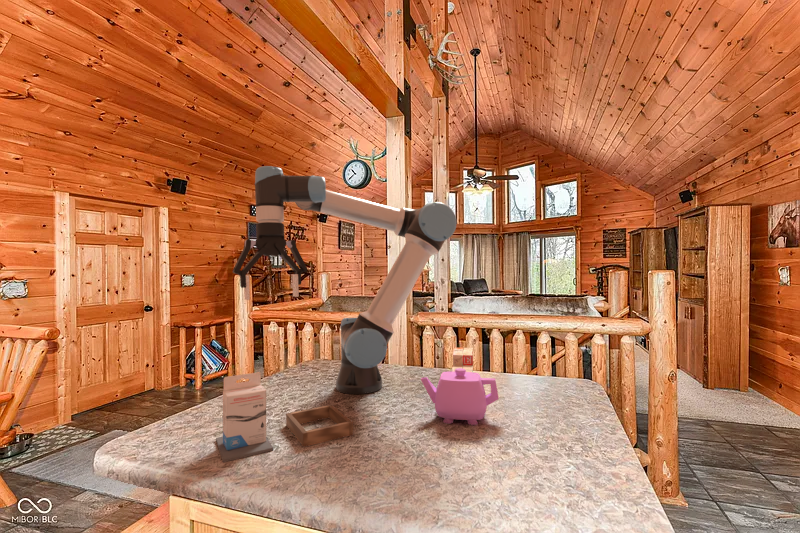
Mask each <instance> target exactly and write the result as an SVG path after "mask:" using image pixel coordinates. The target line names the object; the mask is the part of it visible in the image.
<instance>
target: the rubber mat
mask: <svg viewBox="0 0 800 533" xmlns="http://www.w3.org/2000/svg"><path fill="white" fill-rule="evenodd" d="M215 442H216V444H217V447H218V450H219V454H220V457H221V460H222V463H227V462H230V461H234V460H238V459H239V460H240V459H242V458H246V457H247V458H248V457H252V456H255V455H259V454H264V453H267V452H271V451H274V446H273V445H272V443H271V441H270V440H269V438H268V436H266V442H262V443H258V444H253V445H249V446H244V447H240V448H236V449H231V450H226V448H225V446H224V444H223V436H219V437H216V438H215Z"/></svg>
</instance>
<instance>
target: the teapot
mask: <svg viewBox="0 0 800 533" xmlns="http://www.w3.org/2000/svg"><path fill="white" fill-rule="evenodd" d="M420 381H421V383H422V385H423V386H424V389H425V391H426V392H427V394H428V396H429V398H430V400H431V401H432V404H434V409H435V412H436V415H437V417H439V418H442V419H443V421H442V422H443V423H444V424H448V425H449V424H452V423H454V420H459V421H466V422H467V424H468V425H470V424H471V426H477V425H478V424H479V423H478V420H484V417H485V415H486V413H487V406H489V405H491V404H492V403H494V402H495V403H496V401H498V400H499V393H498V386H497V381H496V378H493V377H481V375H480V373H478V372H474V371H473V372H466V370H465V369H463V368H457V369H455V371H452V370H451V371H450V370H449V371H443V372H442V373H441V374H440V377H439V380H438V384H437V385H436V386H437V387H436V386H435V385H434V384H433V383H432V382H431V381H430V379H429V378H428V376H424V377H421V378H420ZM484 385H490V393H488V394H486V391H485V387H484ZM476 424H477V425H476Z"/></svg>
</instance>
